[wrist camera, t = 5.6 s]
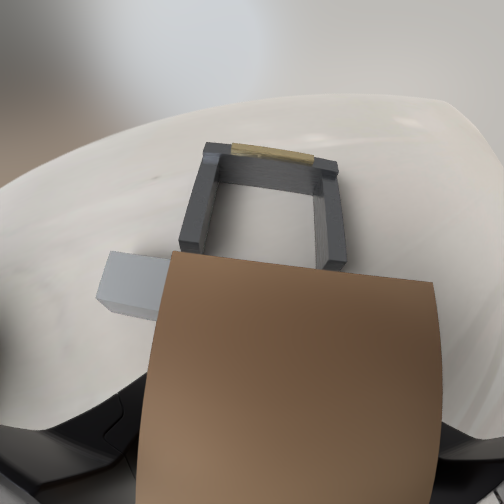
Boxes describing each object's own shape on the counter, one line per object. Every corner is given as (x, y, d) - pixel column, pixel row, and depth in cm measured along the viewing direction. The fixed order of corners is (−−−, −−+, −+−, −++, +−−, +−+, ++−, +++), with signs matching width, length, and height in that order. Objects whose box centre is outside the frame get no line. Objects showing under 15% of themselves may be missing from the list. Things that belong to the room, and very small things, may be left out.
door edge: (387, 342, 16) (408, 332, 14) (111, 311, 15) (95, 298, 13) (384, 301, 18) (403, 287, 15) (122, 269, 17) (110, 250, 15)
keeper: (332, 278, 18) (353, 254, 15) (183, 260, 18) (176, 231, 15) (325, 187, 22) (338, 158, 19) (206, 170, 22) (206, 137, 19)
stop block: (287, 444, 13) (425, 518, 2) (198, 436, 12) (135, 536, 2) (293, 363, 15) (432, 282, 5) (208, 354, 15) (173, 250, 4)
